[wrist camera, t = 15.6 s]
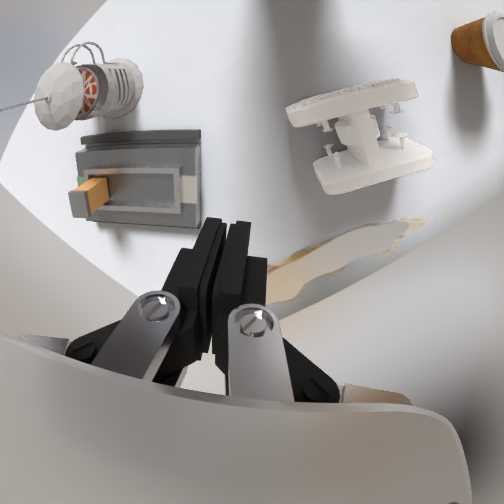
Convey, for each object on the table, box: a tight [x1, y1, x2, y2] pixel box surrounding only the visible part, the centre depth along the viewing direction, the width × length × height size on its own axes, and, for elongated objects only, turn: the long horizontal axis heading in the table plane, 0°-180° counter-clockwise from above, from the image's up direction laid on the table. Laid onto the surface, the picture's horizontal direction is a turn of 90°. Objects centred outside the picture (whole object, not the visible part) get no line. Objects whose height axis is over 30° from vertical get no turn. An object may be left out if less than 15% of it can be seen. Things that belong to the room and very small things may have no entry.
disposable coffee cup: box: [451, 12, 504, 72], centre depth 19 cm, size 10×10×12 cm
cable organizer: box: [285, 79, 434, 195], centre depth 30 cm, size 15×11×12 cm
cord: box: [81, 130, 201, 145], centre depth 36 cm, size 1×20×1 cm, turn 87°
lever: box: [68, 177, 109, 218], centre depth 36 cm, size 4×3×6 cm
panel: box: [76, 144, 201, 228], centre depth 39 cm, size 12×20×4 cm, turn 86°
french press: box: [0, 42, 143, 131], centre depth 22 cm, size 10×12×25 cm
